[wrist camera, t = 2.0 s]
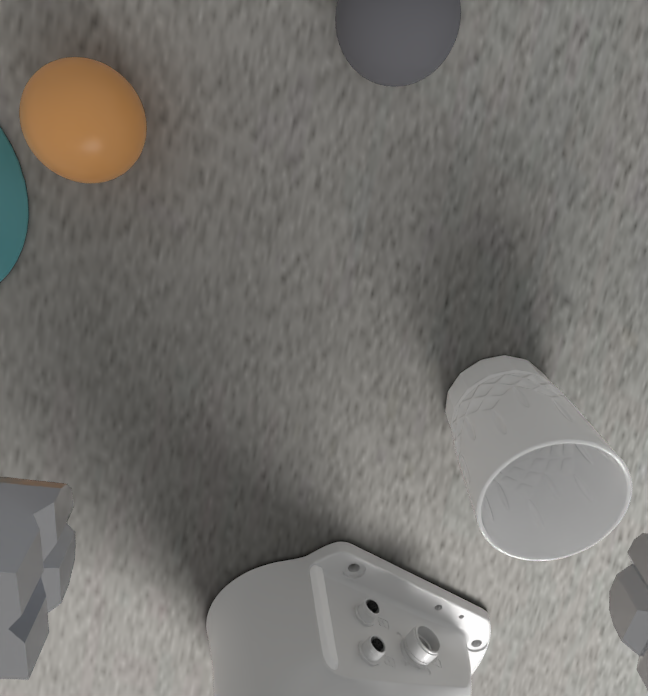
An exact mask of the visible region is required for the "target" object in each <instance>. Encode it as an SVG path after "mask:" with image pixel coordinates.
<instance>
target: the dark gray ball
mask: <svg viewBox="0 0 648 696" xmlns="http://www.w3.org/2000/svg"><path fill="white" fill-rule="evenodd" d="M460 16H461V7H460V0H338V2H337V7H336V17H335V21H336V32H337V38H338V41H339V45H340V47H341V50H342V52H343V54H344V56H345V57H346V59H347V61H348V62H349V63H350V65H351V66H352V67H353V68H354V69H355V70H356V71H357V72H358V73H359V74H360V75H362V76H363V77H364V78H366V79H368V80H370V81H372V82H374V83H377V84H380V85H384V86H404V85H410V84H412V83H415V82H418V81H420V80H422V79H424V78H425V77H427V76H428V75H430V74H431V73H432V72H434V71H435V70H436V69H437V68H438V67H439V66H440V65H441V64H442V63H443V61H444V60H445V59H446V57H447V56H448V54H449V53H450V51H451V49H452V47H453V45H454V42H455V40H456V37H457V34H458V30H459V25H460Z"/></svg>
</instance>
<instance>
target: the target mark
mask: <svg viewBox="0 0 648 696" xmlns="http://www.w3.org/2000/svg"><path fill="white" fill-rule="evenodd" d="M28 219H29V207H28V195H27V189H26V184H25V179H24V176H23V173H22V170H21V167H20V163H19V161H18V159H17V157H16V154H15V152H14V150H13V148H12V145H11V144H10V142H9V140H8V139H7V137H6V135H5V133H4V132H3V130H2V128H1V127H0V282H1V281H2V280H3V279H4V278H5V277H6V276H7V275H8V273H9V272H10V271H11V269H12V268H13V266H14V265H15V263H16V262H17V260H18V258H19V256H20V253H21V251H22V249H23V246H24V242H25V238H26V235H27V229H28Z"/></svg>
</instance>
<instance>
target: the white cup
mask: <svg viewBox="0 0 648 696" xmlns="http://www.w3.org/2000/svg"><path fill="white" fill-rule="evenodd" d="M445 413H446V416H447V419H448V422H449V425H450V428H451V431H452V436H453V444H454V447H455V451H456V455H457V458H458V463H459V466H460V469H461V472H462V476H463V479H464V482H465V485H466V488H467V491H468V494H469V497H470V501H471V504H472V507H473V510H474V514H475V517H476V520H477V523H478V526H479V529H480V531H481V533H482V535H483V536H484V538H485V539H486V540H487V542H488V543H489V544H490V545H491V546H493V547H494V548H495V549H497V550H498V551H500V552H502V553H503V554H506V555H508V556H511V557H514V558H517V559H522V560H528V561H549V560H556V559H561V558H565V557H569V556H572V555H575V554H577V553H580V552H582V551H584V550H586V549H588V548H590V547H592V546H593V545H595V544H597V543H598V542H600V541H601V540H602V539H604V538H605V537H606V536H607V535H608V534H609V533H610V532H612V531H613V529H614V528H615V527H616V526H617V525H618V524H619V522H620V521H621V520H622V518H623V517H624V515H625V513H626V511H627V509H628V507H629V504H630V501H631V496H632V479H631V475H630V472H629V470H628V468H627V466H626V464H625V463H624V461H623V460H622V459H621V458H620V457H619V455H618V454H617V453H616V452H615V451H614V450H613V449H612V448H611V446H610V445H609V444H608V443H607V442H606V441H605V440H604V439H603V437H602V436H601V435H600V434H599V433H598V432H597V431H596V429H595V428H594V427H593V426H592V425H591V424H590V422H589V421H588V420H587V419H586V418H585V417H584V416H583V414H582V413H581V412H580V411H579V410H578V409H577V408H576V406H575V405H574V404H573V403H572V402H571V401H570V400H569V399H568V398H567V397H566V396H565V395H564V394H563V393H562V392H561V391H560V390H559V389H558V388H557V387H556V386H555V385H554V384H552V383H551V382H550V380H549V379H548V378H547V377H546V376H545V375H544V374H543V373H542V372H541V371H540V370H539V369H538V368H536V367H535V366H534V365H533V364H532V363H530V362H529V361H528V360H526V359H521V358H516V357H512V356H507V355H502V356H497V357H492V358H487V359H482V360H480V361H478V362H477V363H475V364H473V365H472V366H470V367H469V368H467V369H466V370H464V371H463V372H461V373H460V374H459V376H458V377H457V379H456V380H455V382H454V383H453V385H452V386H451V387H450V389H449V390H448V394H447V401H446V409H445Z"/></svg>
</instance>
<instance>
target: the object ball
mask: <svg viewBox="0 0 648 696" xmlns="http://www.w3.org/2000/svg"><path fill="white" fill-rule="evenodd" d="M19 117H20V124H21V128H22V132H23V135H24V137H25V140H26V142H27V144H28V146H29V147H30V149H31V150H32V152H33V153H34V155H35V156H36V157H37V158H38V159H39V160H40V161H41V162H42V163H43V164H44V165H45V166H46V167H47V168H49V169H50V170H51V171H53V172H54V173H56V174H58V175H60V176H62V177H64V178H66V179H69V180H72V181H76V182H81V183H101V182H106V181H109V180H112V179H115V178H117V177H119V176H120V175H122V174H124V173H125V172H126V171H128V170H129V169H130V168H131V167H132V166H133V165H134V163H135V162H136V161H137V159H138V158H139V156H140V154H141V152H142V150H143V147H144V144H145V140H146V131H147V126H146V117H145V112H144V108H143V105H142V103H141V101H140V98H139V97H138V95H137V93H136V91H135V90H134V88H133V87H132V86H131V84H130V83H129V82H128V81H127V80H126V79H125V78H124V77H123V76H122V75H121V74H119V73H118V72H117V71H115V70H114V69H113V68H111V67H109V66H108V65H106V64H104V63H102V62H99V61H96V60H93V59H88V58H82V57H67V58H62V59H58V60H55V61H52V62H50V63H48V64H46V65H44V66H43V67H41V68H40V69H39V70H38V71H37V72H36V73H35V74H34V75H33V76H32V77H31V78H30V79H29V81H28V83H27V84H26V86H25V88H24V90H23V93H22V97H21V101H20V108H19Z"/></svg>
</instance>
